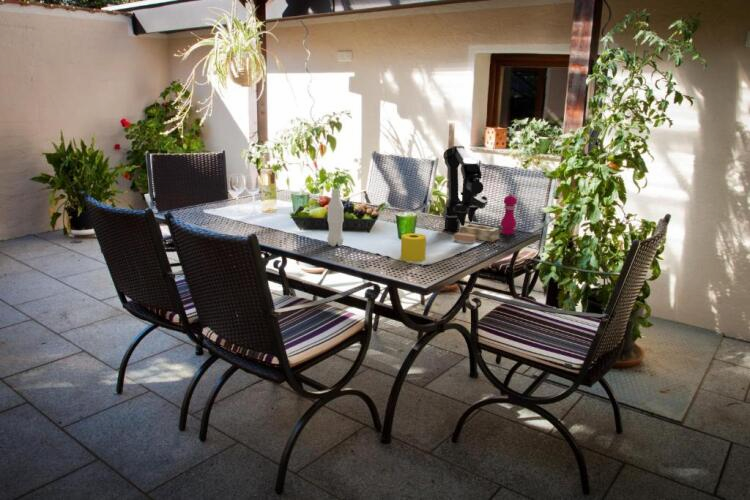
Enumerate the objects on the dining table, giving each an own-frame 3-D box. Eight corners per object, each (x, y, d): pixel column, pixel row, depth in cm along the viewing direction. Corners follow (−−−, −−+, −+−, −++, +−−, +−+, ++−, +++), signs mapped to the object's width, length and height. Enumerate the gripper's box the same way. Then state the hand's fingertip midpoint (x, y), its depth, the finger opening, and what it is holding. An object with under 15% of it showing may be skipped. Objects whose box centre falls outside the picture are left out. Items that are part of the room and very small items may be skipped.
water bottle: (346, 244, 273) (346, 188, 266) (339, 247, 266) (340, 191, 259) (331, 242, 275) (331, 187, 268) (324, 246, 268) (324, 189, 262)
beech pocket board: (459, 236, 290) (460, 226, 288) (465, 233, 296) (466, 223, 294) (492, 241, 281) (493, 231, 280) (498, 238, 288) (499, 228, 286)
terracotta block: (454, 239, 282) (454, 234, 281) (457, 237, 285) (457, 232, 285) (473, 242, 278) (473, 236, 277) (475, 240, 281) (476, 234, 281)
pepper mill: (515, 235, 295) (518, 194, 289) (500, 234, 296) (503, 193, 291) (515, 231, 301) (518, 191, 296) (500, 230, 303) (503, 190, 297)
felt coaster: (452, 241, 281) (452, 240, 280) (460, 237, 288) (460, 236, 288) (471, 244, 276) (471, 243, 276) (478, 240, 284) (478, 239, 283)
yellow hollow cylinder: (407, 262, 246) (408, 240, 244) (396, 256, 255) (397, 234, 253) (429, 260, 250) (430, 238, 248) (418, 254, 259) (418, 232, 256)
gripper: (477, 195, 264) (475, 230, 268) (493, 189, 280) (490, 222, 284) (454, 192, 270) (452, 226, 274) (470, 186, 285) (468, 219, 289)
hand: (466, 223), depth 280 cm, fingers open, 9 cm apart
